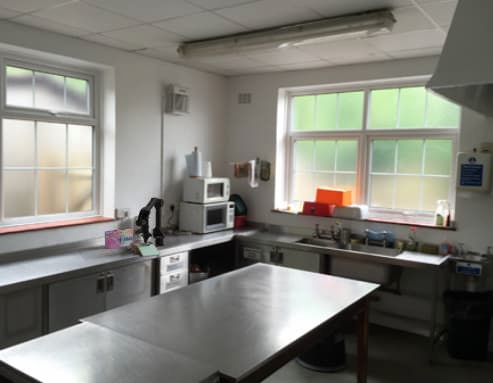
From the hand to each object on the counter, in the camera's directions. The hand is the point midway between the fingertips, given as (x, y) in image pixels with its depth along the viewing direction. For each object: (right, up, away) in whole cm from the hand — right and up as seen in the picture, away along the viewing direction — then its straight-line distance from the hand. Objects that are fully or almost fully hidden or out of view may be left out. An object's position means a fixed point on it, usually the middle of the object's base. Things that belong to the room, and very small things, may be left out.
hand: (145, 244), depth 351 cm
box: (-3, -5, +7) cm, 9 cm away
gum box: (-26, -4, +21) cm, 34 cm away
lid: (+4, -4, -7) cm, 9 cm away
